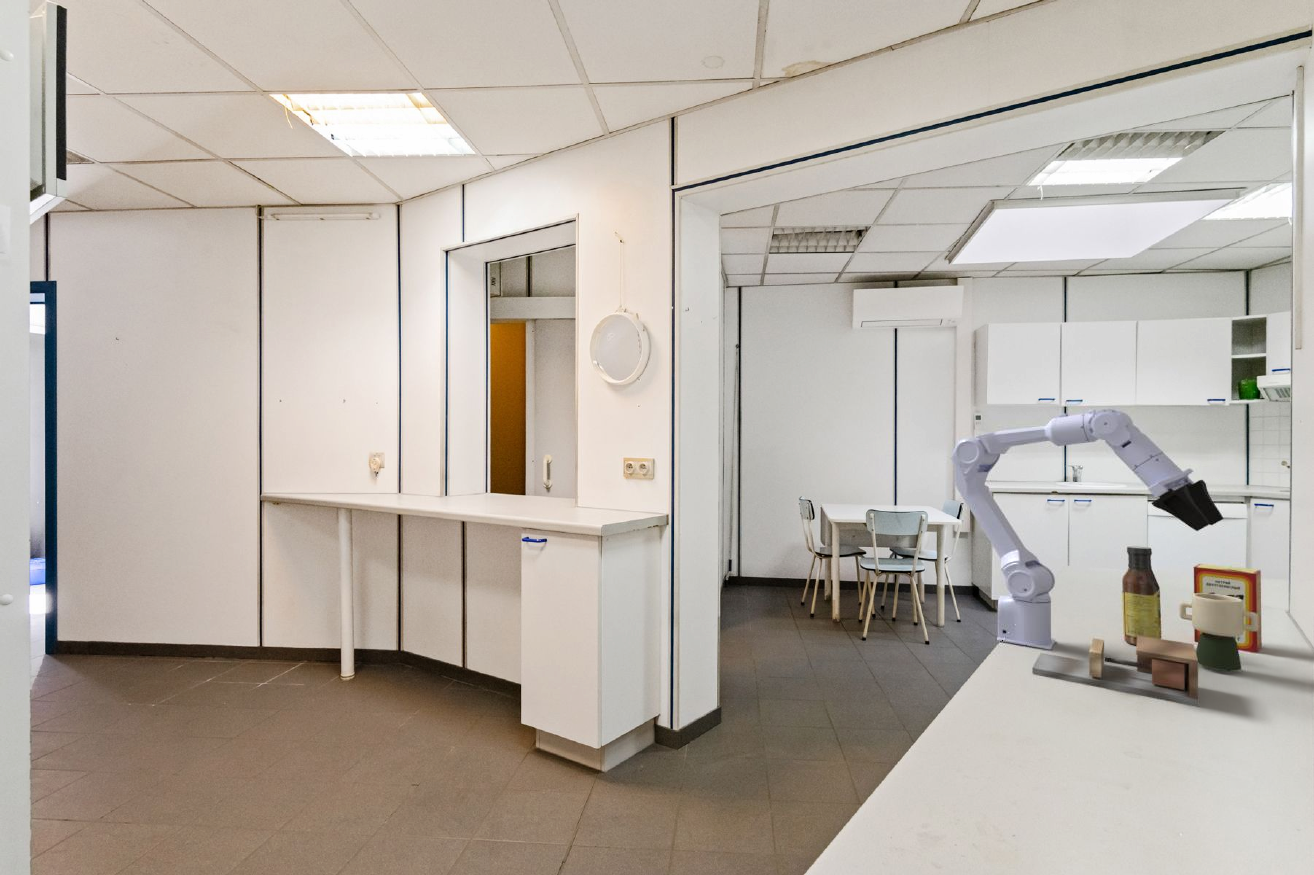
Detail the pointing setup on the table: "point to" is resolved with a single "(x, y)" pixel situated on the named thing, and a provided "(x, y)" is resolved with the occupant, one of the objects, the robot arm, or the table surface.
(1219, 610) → the character mug
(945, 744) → the table surface
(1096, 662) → the pull block
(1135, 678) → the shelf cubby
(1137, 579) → the sauce bottle
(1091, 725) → the table surface
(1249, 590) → the baking soda box
